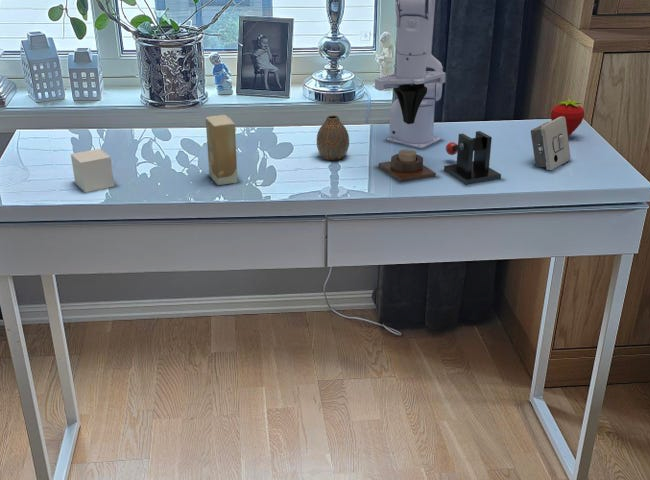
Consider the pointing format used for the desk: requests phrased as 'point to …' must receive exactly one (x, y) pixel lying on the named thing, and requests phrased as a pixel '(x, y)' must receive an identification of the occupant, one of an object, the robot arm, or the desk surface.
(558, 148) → the electrical switch
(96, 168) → the beige cube
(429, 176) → the control block
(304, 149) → the desk surface
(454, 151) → the red knob lever
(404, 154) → the button
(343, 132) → the vase
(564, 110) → the strawberry
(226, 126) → the cosmetic box
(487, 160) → the black lever base
